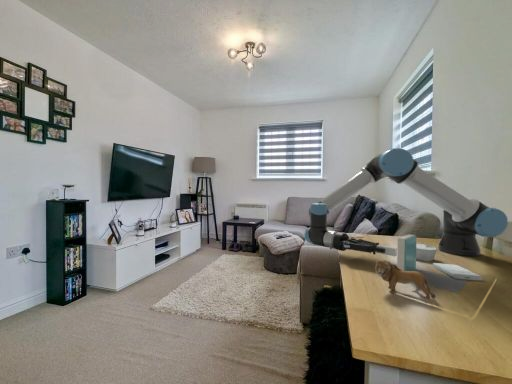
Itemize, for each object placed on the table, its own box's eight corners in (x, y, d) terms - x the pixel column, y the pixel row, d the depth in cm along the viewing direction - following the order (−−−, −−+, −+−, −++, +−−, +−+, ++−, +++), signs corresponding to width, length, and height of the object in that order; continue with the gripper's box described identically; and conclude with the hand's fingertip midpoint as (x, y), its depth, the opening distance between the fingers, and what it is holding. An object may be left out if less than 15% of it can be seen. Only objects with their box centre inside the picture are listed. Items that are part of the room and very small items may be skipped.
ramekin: (443, 262, 96) (443, 249, 96) (415, 262, 96) (415, 249, 96) (424, 254, 107) (424, 243, 107) (398, 254, 107) (399, 242, 107)
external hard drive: (457, 269, 88) (482, 281, 75) (432, 267, 89) (453, 278, 77) (457, 264, 88) (482, 275, 75) (432, 262, 89) (453, 273, 77)
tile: (408, 268, 86) (408, 234, 86) (415, 270, 84) (416, 235, 84) (397, 274, 80) (397, 237, 80) (405, 276, 78) (406, 239, 78)
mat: (398, 266, 90) (398, 264, 90) (468, 282, 75) (468, 281, 75) (382, 274, 82) (382, 272, 82) (457, 294, 66) (457, 293, 66)
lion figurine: (375, 293, 67) (376, 261, 67) (373, 286, 72) (374, 256, 72) (438, 302, 62) (439, 268, 62) (431, 294, 67) (432, 262, 67)
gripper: (344, 247, 107) (402, 259, 89) (327, 251, 99) (387, 266, 80) (345, 230, 107) (403, 239, 89) (328, 233, 99) (388, 244, 80)
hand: (395, 252), depth 85 cm, fingers closed
